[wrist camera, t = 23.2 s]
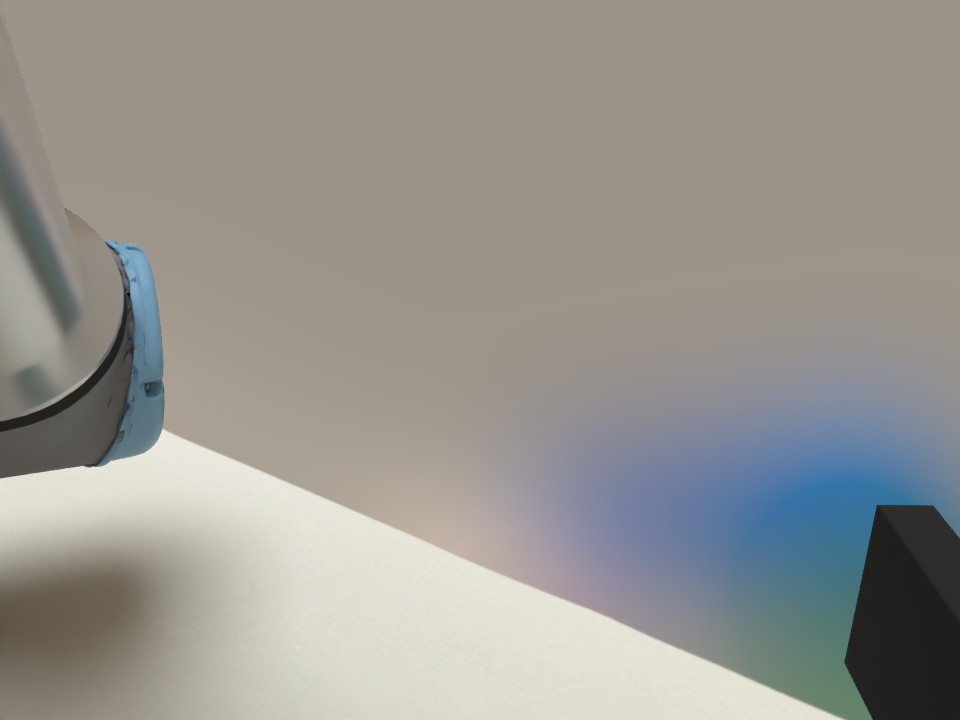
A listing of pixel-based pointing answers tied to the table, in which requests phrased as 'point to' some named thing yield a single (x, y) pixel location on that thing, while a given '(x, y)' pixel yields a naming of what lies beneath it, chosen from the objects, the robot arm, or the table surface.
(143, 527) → the table surface
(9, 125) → the robot arm
